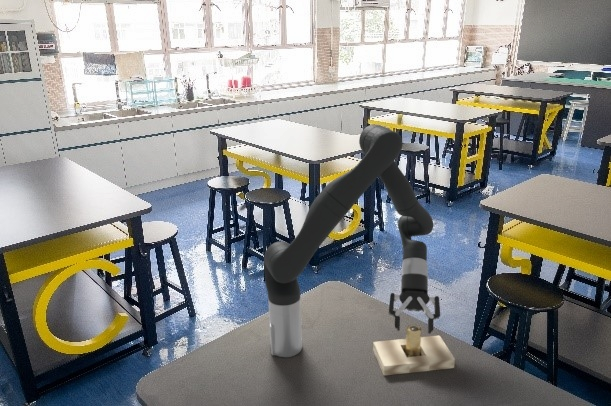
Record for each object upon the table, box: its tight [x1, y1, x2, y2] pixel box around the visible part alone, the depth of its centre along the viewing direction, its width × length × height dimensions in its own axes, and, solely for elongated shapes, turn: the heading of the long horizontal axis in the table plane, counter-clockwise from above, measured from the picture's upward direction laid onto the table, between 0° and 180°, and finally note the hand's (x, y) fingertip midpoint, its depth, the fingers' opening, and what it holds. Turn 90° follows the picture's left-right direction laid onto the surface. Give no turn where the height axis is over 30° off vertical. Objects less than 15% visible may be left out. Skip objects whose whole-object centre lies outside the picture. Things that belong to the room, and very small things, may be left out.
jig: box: [372, 335, 456, 376], centre depth 138 cm, size 20×11×3 cm, turn 97°
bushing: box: [405, 324, 422, 357], centre depth 137 cm, size 4×4×10 cm
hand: (413, 331), depth 137 cm, fingers open, 8 cm apart
